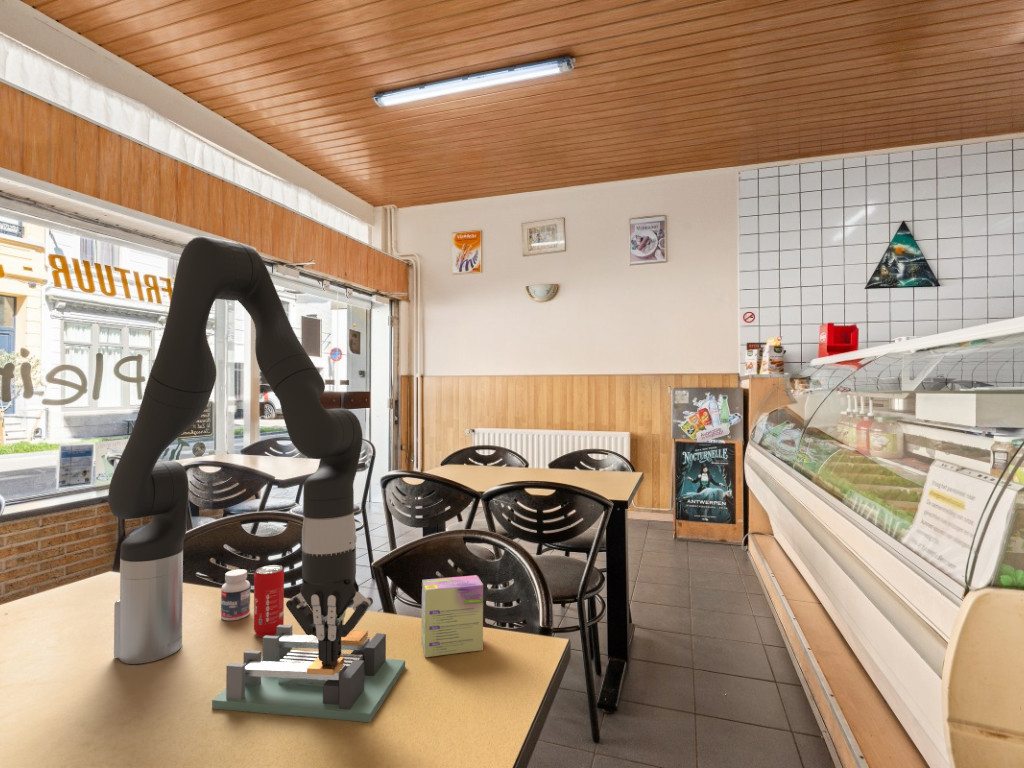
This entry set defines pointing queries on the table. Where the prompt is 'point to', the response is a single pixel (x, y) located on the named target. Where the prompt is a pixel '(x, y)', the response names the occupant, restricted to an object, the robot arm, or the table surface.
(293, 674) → the lever near
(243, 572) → the pill bottle
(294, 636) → the lever far
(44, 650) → the table surface
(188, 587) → the table surface
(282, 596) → the beverage can
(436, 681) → the table surface
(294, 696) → the socket board
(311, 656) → the heatsink block
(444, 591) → the box
